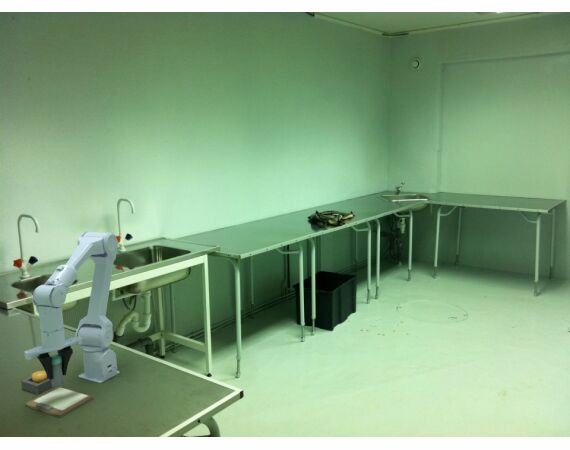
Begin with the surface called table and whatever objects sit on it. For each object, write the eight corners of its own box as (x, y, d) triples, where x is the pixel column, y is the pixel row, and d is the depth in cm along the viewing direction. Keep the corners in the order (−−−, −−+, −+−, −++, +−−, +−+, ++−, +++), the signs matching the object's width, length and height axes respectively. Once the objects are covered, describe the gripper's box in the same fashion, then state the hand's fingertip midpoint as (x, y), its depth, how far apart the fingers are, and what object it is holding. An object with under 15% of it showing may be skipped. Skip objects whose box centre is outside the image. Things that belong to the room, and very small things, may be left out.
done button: (50, 379, 153) (49, 372, 153) (38, 385, 150) (37, 377, 149) (41, 376, 155) (40, 369, 154) (29, 382, 151) (28, 375, 151)
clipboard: (93, 398, 144) (93, 394, 144) (60, 417, 135) (59, 413, 135) (59, 388, 151) (58, 384, 151) (24, 405, 141) (24, 401, 141)
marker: (65, 381, 144) (63, 354, 142) (61, 387, 140) (58, 359, 139) (54, 382, 144) (51, 354, 142) (49, 387, 140) (46, 359, 139)
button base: (59, 383, 154) (58, 375, 153) (38, 394, 148) (37, 386, 147) (43, 379, 157) (42, 371, 157) (22, 389, 151) (21, 381, 151)
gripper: (72, 318, 147) (76, 363, 150) (18, 332, 137) (23, 380, 139) (83, 324, 142) (87, 370, 145) (28, 339, 132) (33, 389, 134)
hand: (56, 376), depth 142 cm, fingers closed on marker, 3 cm apart
